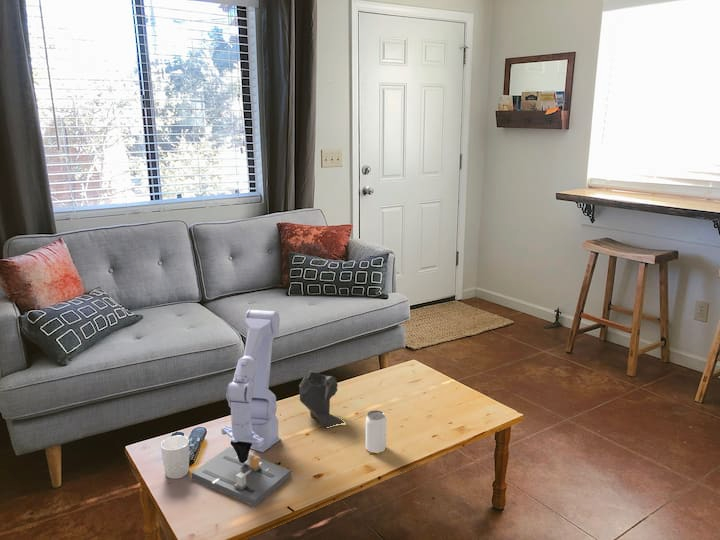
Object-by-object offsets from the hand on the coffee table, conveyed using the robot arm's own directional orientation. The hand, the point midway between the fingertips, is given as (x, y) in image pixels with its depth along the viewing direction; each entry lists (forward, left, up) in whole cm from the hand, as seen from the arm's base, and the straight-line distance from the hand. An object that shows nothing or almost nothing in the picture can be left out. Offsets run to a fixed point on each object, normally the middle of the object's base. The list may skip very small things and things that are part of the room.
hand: (243, 461), depth 176 cm
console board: (+3, +2, -3) cm, 5 cm away
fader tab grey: (+9, +7, -1) cm, 11 cm away
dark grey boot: (-38, +2, -3) cm, 38 cm away
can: (-31, +28, -3) cm, 42 cm away
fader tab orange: (0, +4, -1) cm, 5 cm away
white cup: (+11, -16, -3) cm, 20 cm away
